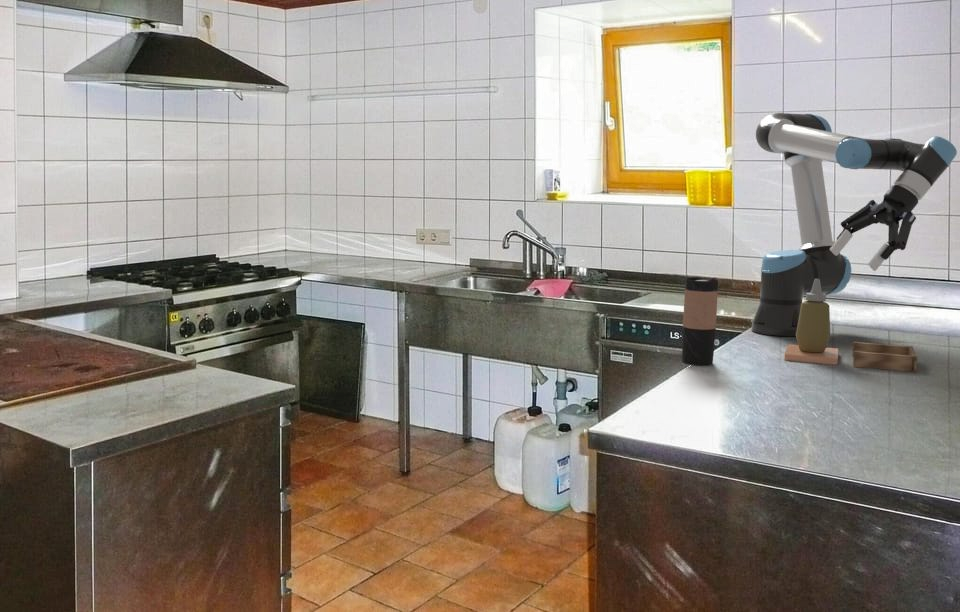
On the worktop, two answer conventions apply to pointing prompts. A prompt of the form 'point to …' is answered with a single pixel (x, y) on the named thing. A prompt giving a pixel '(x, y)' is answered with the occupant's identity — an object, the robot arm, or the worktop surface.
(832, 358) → the terracotta tile
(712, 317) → the travel mug
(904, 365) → the wooden tray
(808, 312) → the squeeze bottle
